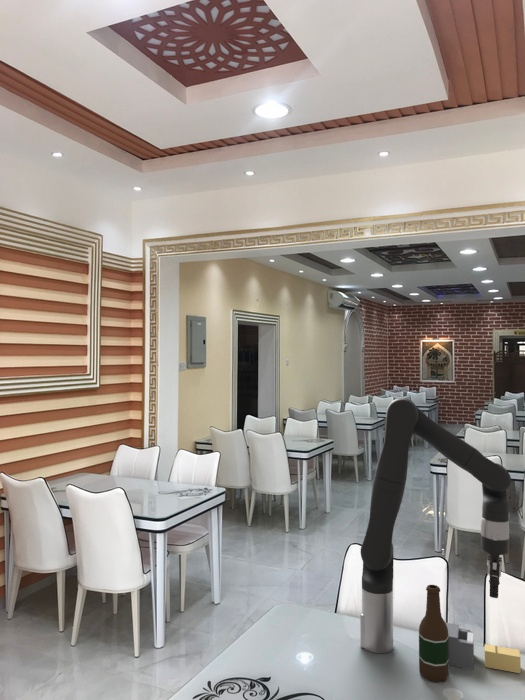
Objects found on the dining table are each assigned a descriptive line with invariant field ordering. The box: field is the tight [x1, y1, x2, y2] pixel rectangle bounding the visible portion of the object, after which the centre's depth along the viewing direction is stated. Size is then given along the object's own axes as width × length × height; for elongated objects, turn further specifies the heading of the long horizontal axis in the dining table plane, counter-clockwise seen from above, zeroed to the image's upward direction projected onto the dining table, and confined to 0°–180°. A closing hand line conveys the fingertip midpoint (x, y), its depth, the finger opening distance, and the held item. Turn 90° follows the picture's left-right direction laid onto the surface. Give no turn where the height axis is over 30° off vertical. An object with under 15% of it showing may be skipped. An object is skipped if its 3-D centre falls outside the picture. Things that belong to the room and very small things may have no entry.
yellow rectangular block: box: [484, 643, 521, 674], centre depth 153 cm, size 9×4×4 cm, turn 68°
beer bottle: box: [418, 584, 450, 684], centre depth 150 cm, size 8×8×24 cm
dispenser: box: [445, 621, 475, 670], centre depth 158 cm, size 12×8×8 cm
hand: (493, 591), depth 157 cm, fingers open, 8 cm apart
